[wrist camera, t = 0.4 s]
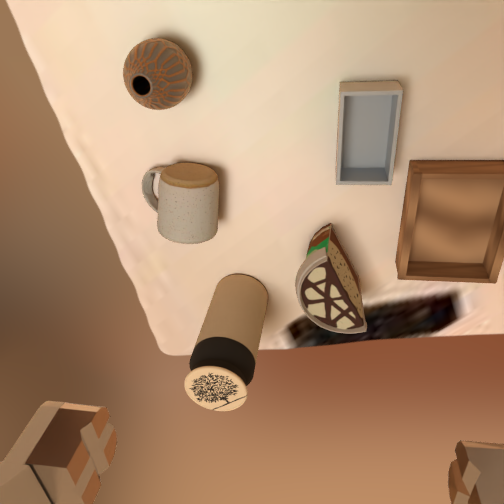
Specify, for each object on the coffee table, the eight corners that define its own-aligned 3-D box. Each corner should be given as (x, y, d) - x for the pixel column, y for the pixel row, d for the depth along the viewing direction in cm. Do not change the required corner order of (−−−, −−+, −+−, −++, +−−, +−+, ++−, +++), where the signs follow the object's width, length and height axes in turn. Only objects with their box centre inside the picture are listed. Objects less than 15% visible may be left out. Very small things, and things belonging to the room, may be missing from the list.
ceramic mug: (225, 163, 54) (210, 189, 48) (223, 220, 59) (209, 250, 53) (144, 152, 55) (118, 176, 49) (148, 209, 60) (125, 237, 54)
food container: (283, 231, 58) (275, 274, 50) (325, 213, 56) (324, 256, 48) (322, 297, 63) (321, 347, 55) (363, 284, 61) (367, 334, 53)
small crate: (339, 82, 47) (340, 91, 43) (397, 80, 46) (403, 90, 42) (335, 169, 53) (336, 184, 49) (387, 169, 52) (391, 185, 48)
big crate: (408, 160, 51) (413, 173, 47) (515, 160, 49) (528, 174, 45) (394, 261, 58) (397, 279, 55) (486, 264, 56) (495, 283, 53)
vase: (161, 109, 52) (133, 132, 45) (127, 53, 49) (92, 68, 42) (210, 83, 49) (189, 103, 42) (177, 22, 46) (149, 32, 39)
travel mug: (205, 283, 65) (168, 377, 50) (251, 265, 62) (225, 359, 47) (233, 320, 69) (205, 418, 54) (277, 305, 66) (261, 405, 51)
